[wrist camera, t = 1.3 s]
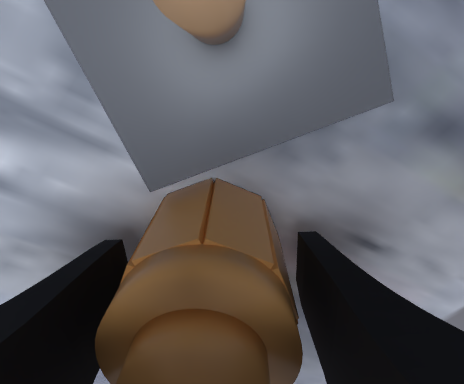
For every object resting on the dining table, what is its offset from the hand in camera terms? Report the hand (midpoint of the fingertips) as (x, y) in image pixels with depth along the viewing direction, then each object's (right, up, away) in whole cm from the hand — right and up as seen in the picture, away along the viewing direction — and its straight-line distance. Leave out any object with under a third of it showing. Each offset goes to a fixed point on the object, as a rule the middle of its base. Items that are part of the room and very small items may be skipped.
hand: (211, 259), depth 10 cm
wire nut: (0, +1, +1) cm, 1 cm away
